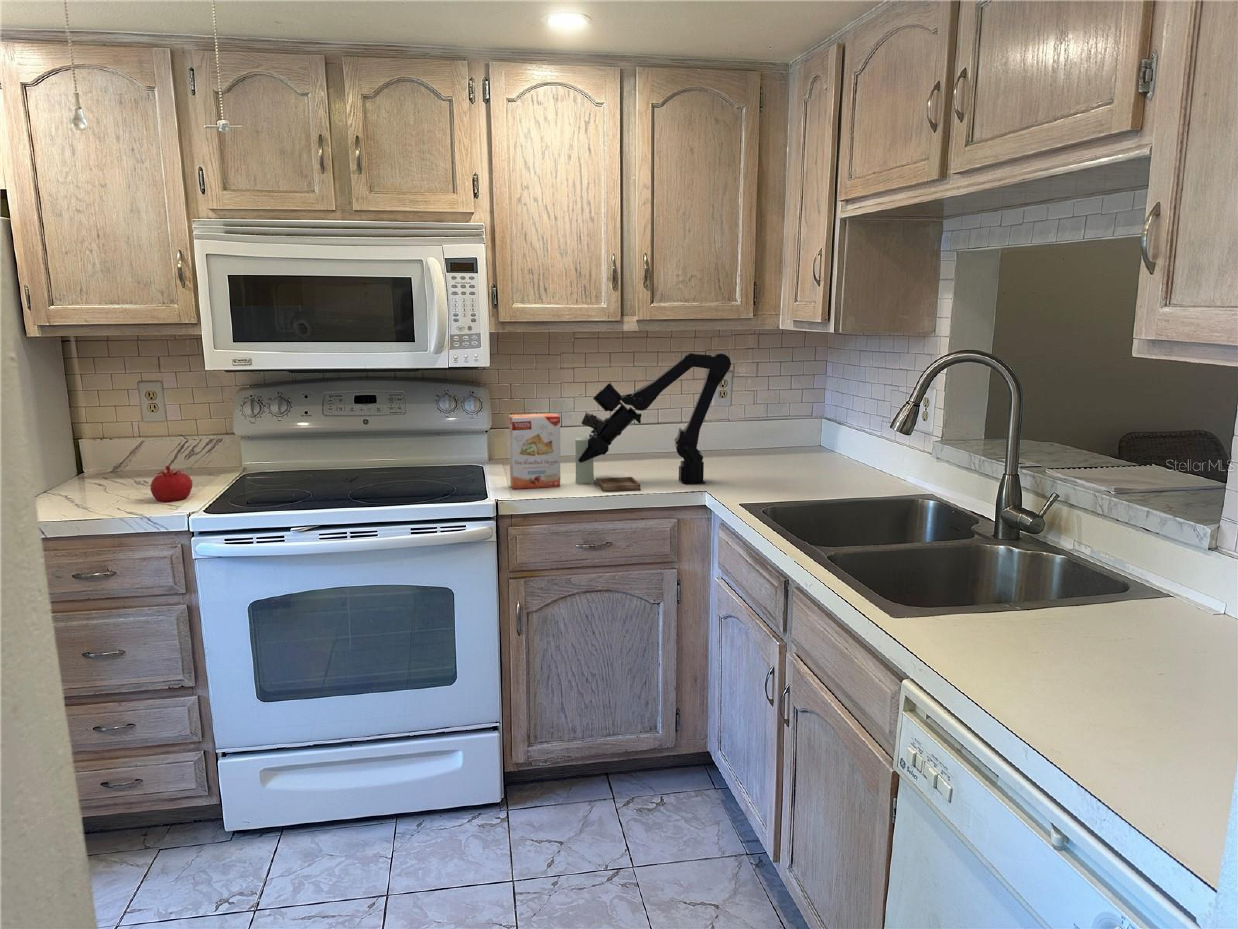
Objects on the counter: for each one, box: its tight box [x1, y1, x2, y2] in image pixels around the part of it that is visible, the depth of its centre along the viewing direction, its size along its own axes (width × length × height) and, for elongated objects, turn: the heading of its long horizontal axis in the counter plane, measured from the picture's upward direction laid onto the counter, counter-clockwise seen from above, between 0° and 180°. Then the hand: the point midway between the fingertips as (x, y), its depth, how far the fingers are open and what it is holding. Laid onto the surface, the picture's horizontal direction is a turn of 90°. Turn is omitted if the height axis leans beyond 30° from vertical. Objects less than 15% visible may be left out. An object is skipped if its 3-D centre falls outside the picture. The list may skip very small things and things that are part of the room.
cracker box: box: [508, 413, 561, 490], centre depth 237 cm, size 14×6×21 cm, turn 105°
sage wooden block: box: [574, 436, 595, 484], centre depth 243 cm, size 5×5×13 cm
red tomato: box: [150, 465, 194, 503], centre depth 222 cm, size 10×10×9 cm
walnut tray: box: [595, 476, 641, 493], centre depth 237 cm, size 11×11×2 cm
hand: (579, 459), depth 243 cm, fingers closed on sage wooden block, 5 cm apart
